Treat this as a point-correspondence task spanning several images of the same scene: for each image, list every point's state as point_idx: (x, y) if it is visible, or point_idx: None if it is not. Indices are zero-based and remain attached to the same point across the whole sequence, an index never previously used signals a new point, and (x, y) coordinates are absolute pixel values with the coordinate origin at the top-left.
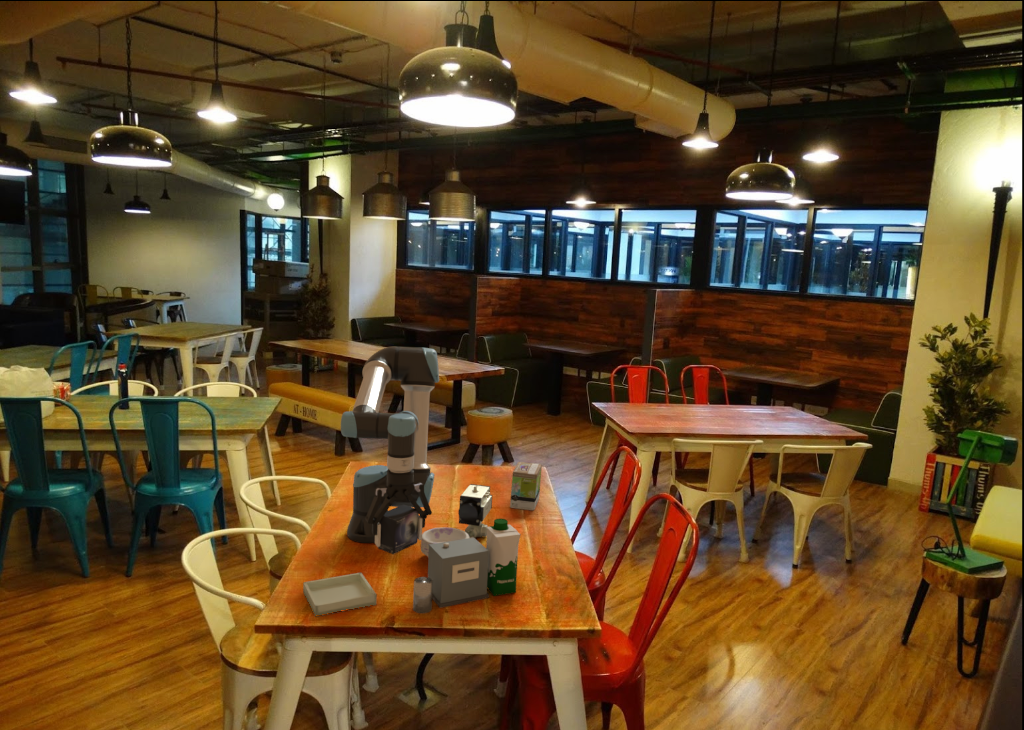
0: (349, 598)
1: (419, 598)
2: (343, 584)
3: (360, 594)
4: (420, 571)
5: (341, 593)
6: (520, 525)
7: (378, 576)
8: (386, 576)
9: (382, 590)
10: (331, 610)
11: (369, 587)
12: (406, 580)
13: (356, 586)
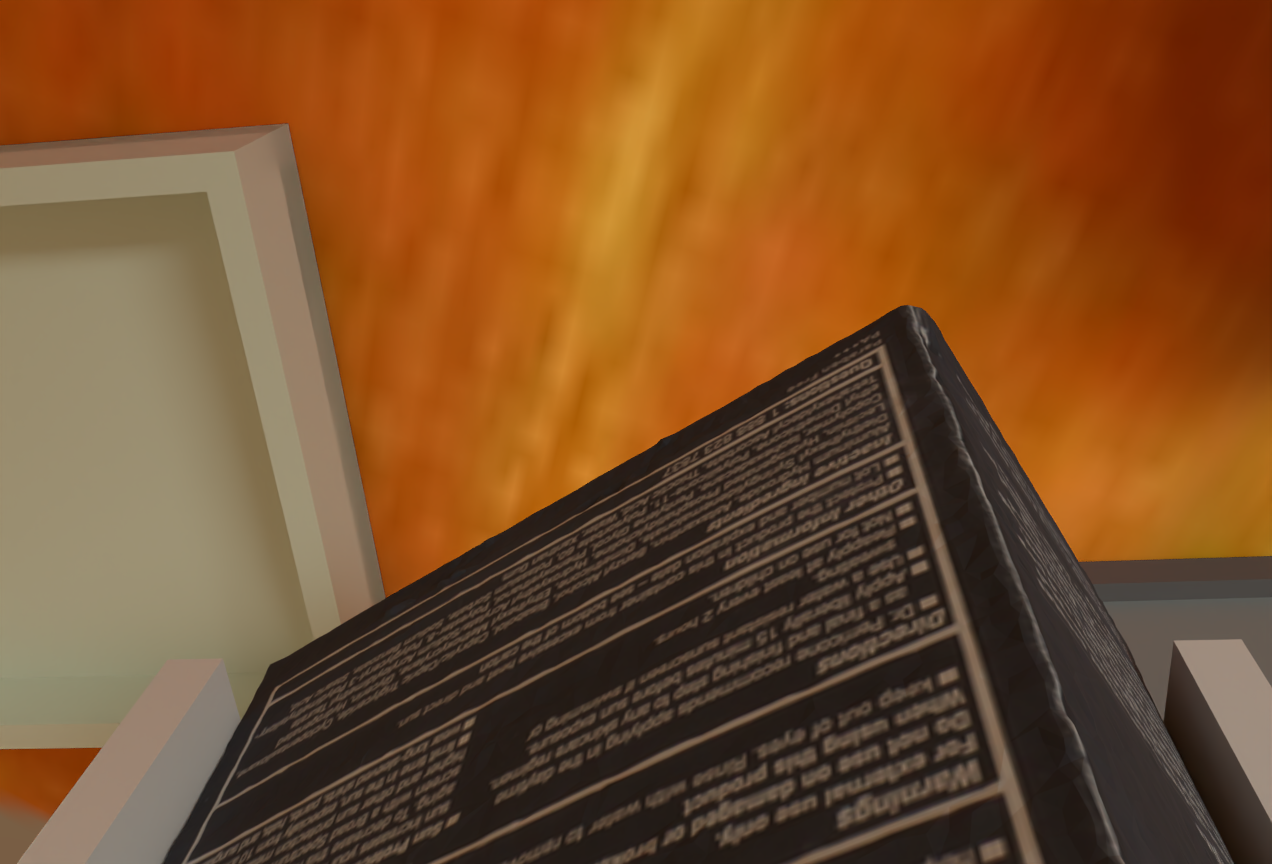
0: (81, 726)
1: None
2: (44, 219)
3: (239, 513)
4: (1170, 47)
5: (32, 426)
6: None
7: (539, 20)
8: (646, 56)
9: (515, 412)
10: None
11: (307, 581)
12: (870, 259)
13: (203, 318)
